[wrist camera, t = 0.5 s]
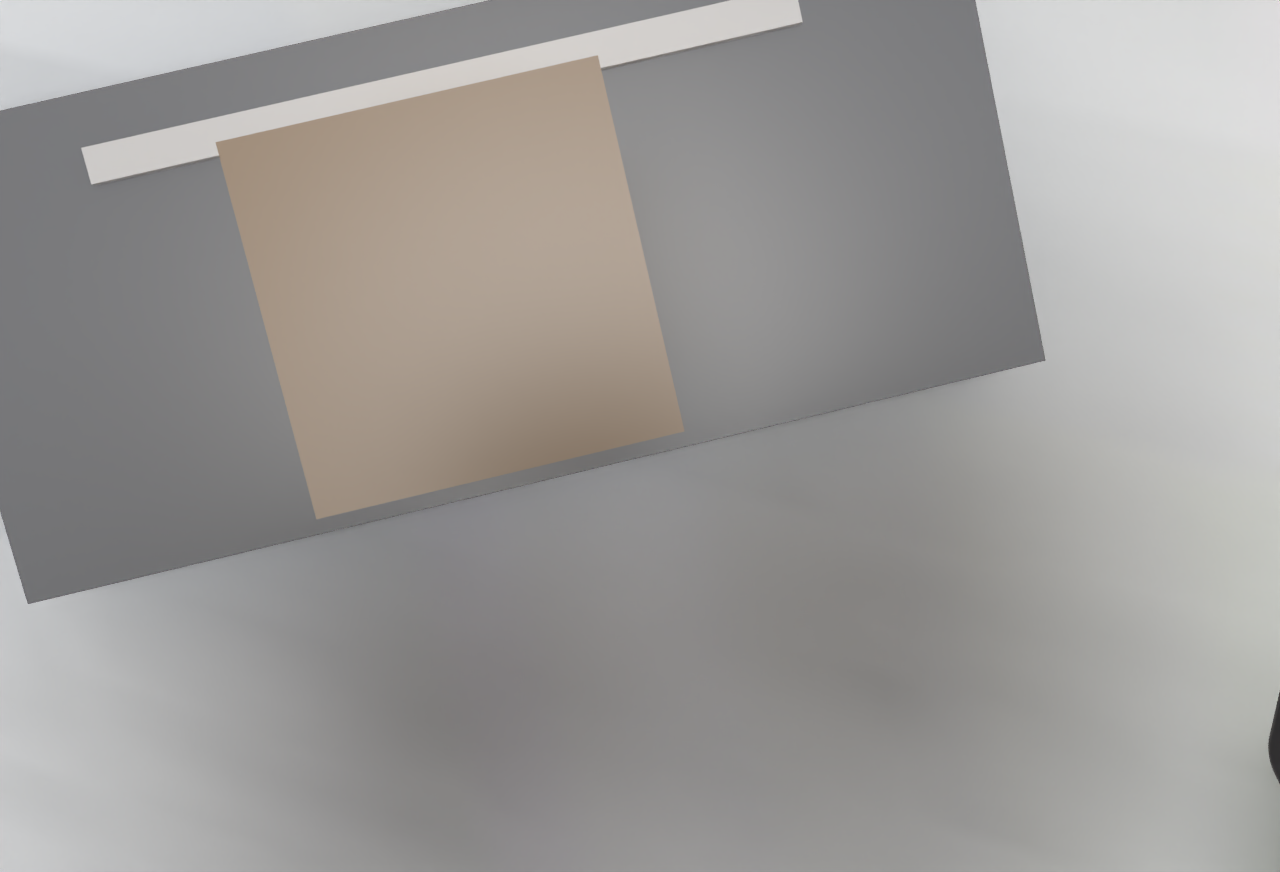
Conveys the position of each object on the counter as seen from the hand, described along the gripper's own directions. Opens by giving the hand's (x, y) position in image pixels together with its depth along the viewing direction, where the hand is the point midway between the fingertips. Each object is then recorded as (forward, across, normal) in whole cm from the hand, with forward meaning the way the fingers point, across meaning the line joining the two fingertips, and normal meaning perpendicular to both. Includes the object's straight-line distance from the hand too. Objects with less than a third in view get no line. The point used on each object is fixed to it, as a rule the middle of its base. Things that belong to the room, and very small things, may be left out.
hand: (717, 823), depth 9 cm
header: (+15, +2, +3) cm, 15 cm away
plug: (+14, +2, +3) cm, 15 cm away
